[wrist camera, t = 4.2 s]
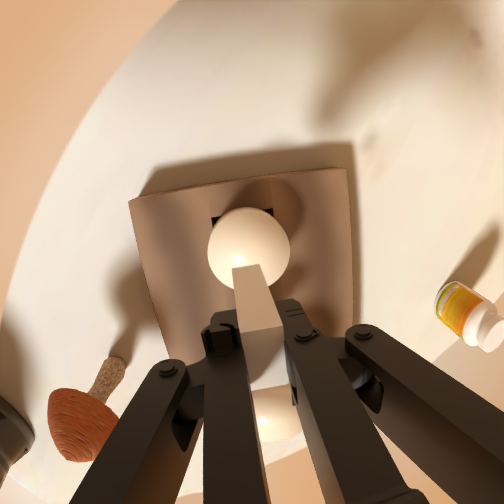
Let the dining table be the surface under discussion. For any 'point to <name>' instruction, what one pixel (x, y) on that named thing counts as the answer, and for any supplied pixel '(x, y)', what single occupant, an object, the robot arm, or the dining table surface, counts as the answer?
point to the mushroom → (85, 414)
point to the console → (197, 239)
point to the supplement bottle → (469, 316)
